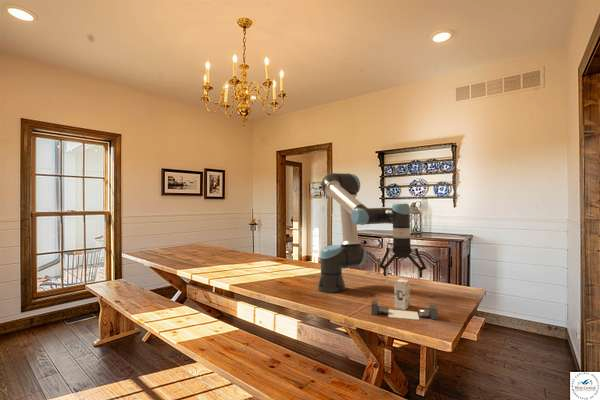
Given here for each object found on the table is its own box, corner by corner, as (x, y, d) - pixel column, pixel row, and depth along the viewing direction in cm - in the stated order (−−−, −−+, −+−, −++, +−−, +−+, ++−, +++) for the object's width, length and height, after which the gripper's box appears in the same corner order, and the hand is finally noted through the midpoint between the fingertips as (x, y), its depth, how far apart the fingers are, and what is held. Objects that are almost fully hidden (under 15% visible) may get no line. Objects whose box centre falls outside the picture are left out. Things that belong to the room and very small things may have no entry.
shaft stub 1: (371, 314, 135) (371, 304, 135) (372, 310, 140) (372, 300, 140) (387, 315, 133) (387, 305, 133) (387, 311, 138) (387, 301, 138)
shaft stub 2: (420, 318, 130) (420, 307, 130) (419, 314, 134) (419, 303, 134) (437, 320, 128) (437, 309, 128) (435, 315, 133) (435, 305, 133)
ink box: (399, 303, 149) (399, 278, 149) (410, 305, 146) (409, 279, 146) (394, 308, 141) (394, 282, 141) (405, 310, 139) (405, 284, 139)
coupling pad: (388, 317, 131) (388, 316, 131) (388, 310, 140) (388, 309, 140) (419, 320, 128) (419, 319, 128) (417, 312, 136) (417, 311, 136)
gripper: (373, 237, 144) (374, 284, 143) (432, 238, 137) (433, 287, 136) (373, 236, 151) (374, 280, 151) (430, 236, 144) (431, 283, 144)
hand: (402, 284), depth 143 cm, fingers open, 13 cm apart
